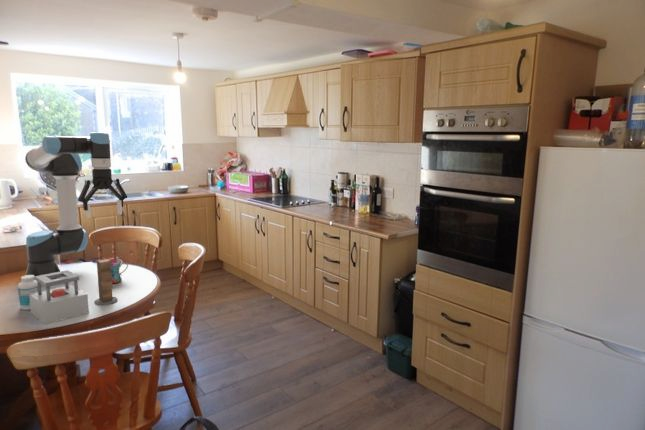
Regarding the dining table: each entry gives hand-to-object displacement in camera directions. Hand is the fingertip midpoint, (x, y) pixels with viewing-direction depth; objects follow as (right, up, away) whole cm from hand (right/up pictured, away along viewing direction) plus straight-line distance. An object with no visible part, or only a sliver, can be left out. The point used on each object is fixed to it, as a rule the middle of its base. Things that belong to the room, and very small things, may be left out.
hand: (104, 215), depth 191 cm
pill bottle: (-26, -39, -11) cm, 48 cm away
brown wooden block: (+2, -37, -3) cm, 37 cm away
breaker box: (-10, -40, -16) cm, 44 cm away
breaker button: (-10, -38, -16) cm, 43 cm away
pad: (+2, -38, -3) cm, 38 cm away
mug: (-7, -33, +24) cm, 41 cm away
